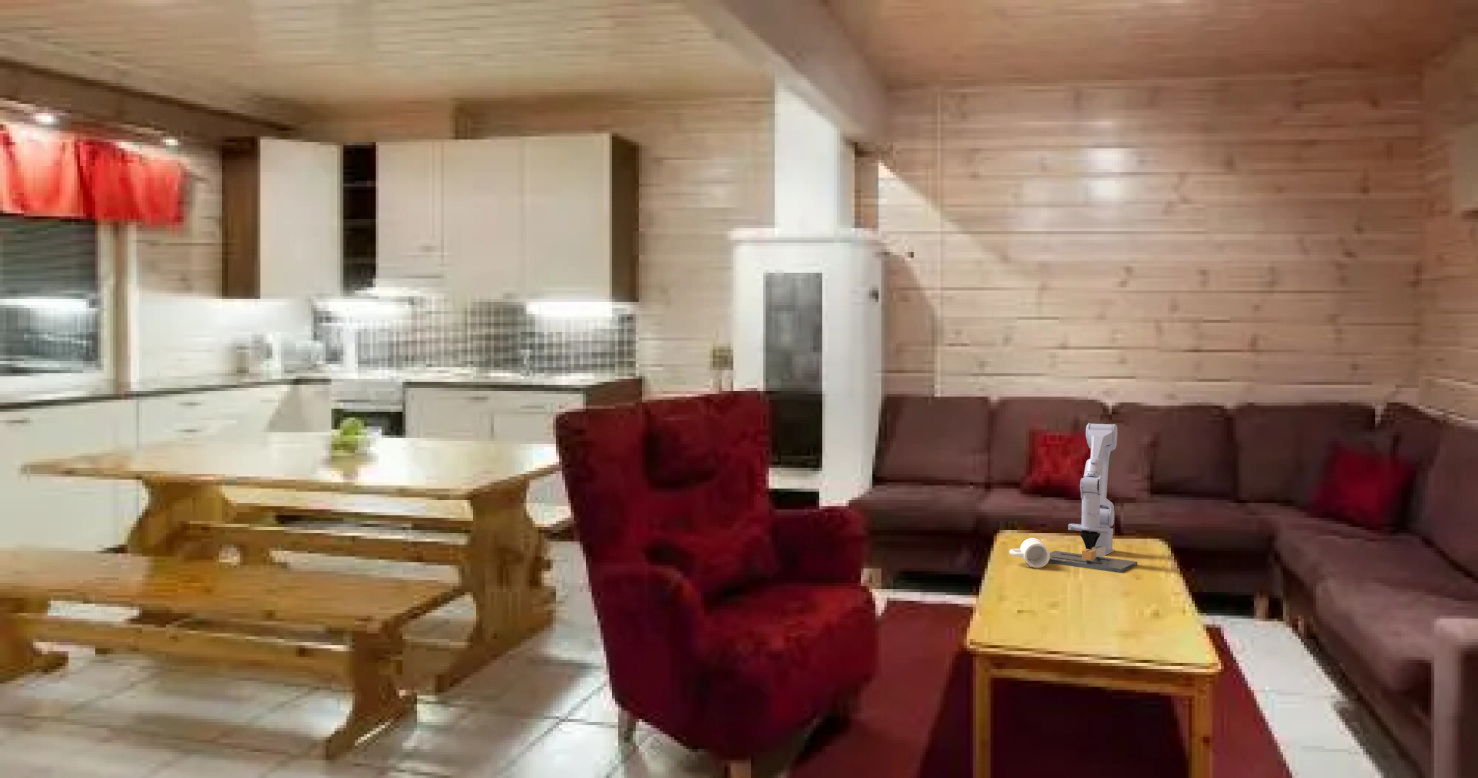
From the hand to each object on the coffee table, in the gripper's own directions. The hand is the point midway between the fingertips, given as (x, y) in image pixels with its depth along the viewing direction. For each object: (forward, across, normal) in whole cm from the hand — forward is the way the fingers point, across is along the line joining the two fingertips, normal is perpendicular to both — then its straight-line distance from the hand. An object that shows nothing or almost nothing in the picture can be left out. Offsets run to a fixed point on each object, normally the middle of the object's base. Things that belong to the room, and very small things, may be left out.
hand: (1090, 554), depth 375 cm
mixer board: (+2, 0, -4) cm, 4 cm away
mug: (+3, -14, -18) cm, 22 cm away
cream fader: (+1, +3, 0) cm, 3 cm away
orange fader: (+1, +3, -7) cm, 7 cm away
